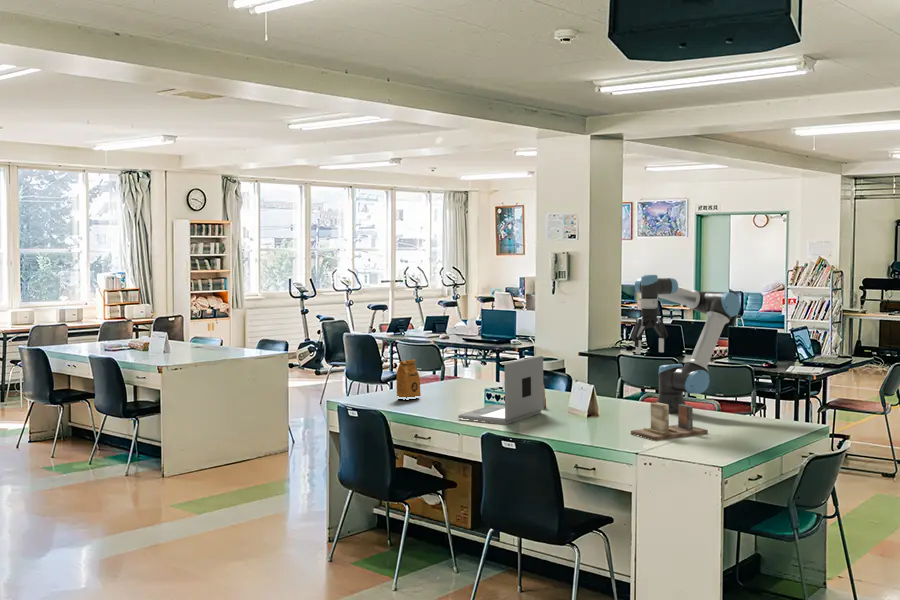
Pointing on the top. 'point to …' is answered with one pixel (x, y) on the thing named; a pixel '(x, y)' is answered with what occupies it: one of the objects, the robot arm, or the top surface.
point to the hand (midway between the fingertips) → (649, 353)
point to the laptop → (516, 394)
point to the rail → (674, 427)
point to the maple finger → (660, 417)
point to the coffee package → (408, 379)
